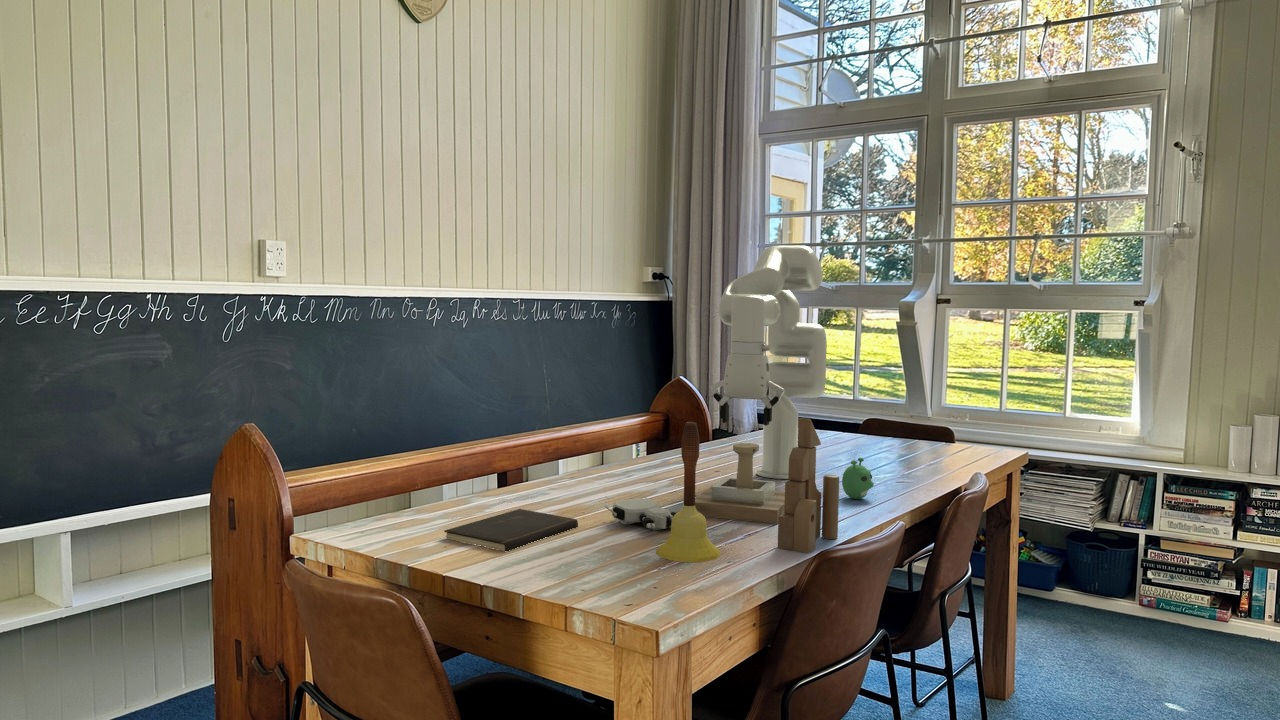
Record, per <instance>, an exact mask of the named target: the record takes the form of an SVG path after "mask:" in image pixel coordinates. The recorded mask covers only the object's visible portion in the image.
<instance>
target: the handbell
mask: <svg viewBox="0 0 1280 720" xmlns="http://www.w3.org/2000/svg"><path fill="white" fill-rule="evenodd" d="M698 428H699V427H698V424H697V422H696V421H695V422H694V421H686V422H685V424H684V427H683V431H682V432H683V433H682V437H681V447H680V448H681V452H680V453H681V459H682V462H683V469H684V470H683V471H684V472H683V474H684V475H683V504H682V505H683V506H682V509H681V510H680V511H678V512H675V513H676V514H675V515H674V516H673V518H672V524H671V527H670V535H669V537H668V538H667V539H666V541H664V542H663V543H661V544H660V545H659V546H658V548H657V549H656V551H655V553H656V555H657V556H659V557H660V558H662V559H664V560H665V559H666V560H668V561H674V562H681V563H702V562H703V563H704V562H709V561H713V560H717V559H718V558H720V556H721V555H722V554H721V551H720V550H719V548H718V547H717V546H716V545H715V544H714V543H712V542H711V540H710V539H709V538H708V536H707V519H706V516H703V515H702V514H701V513H699V512H698V511H697V510H696V507H695V498H696V477H697V476H696V472H697V471H696V468H697V463H698V461H699V457H700V435H699V429H698Z"/></svg>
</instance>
